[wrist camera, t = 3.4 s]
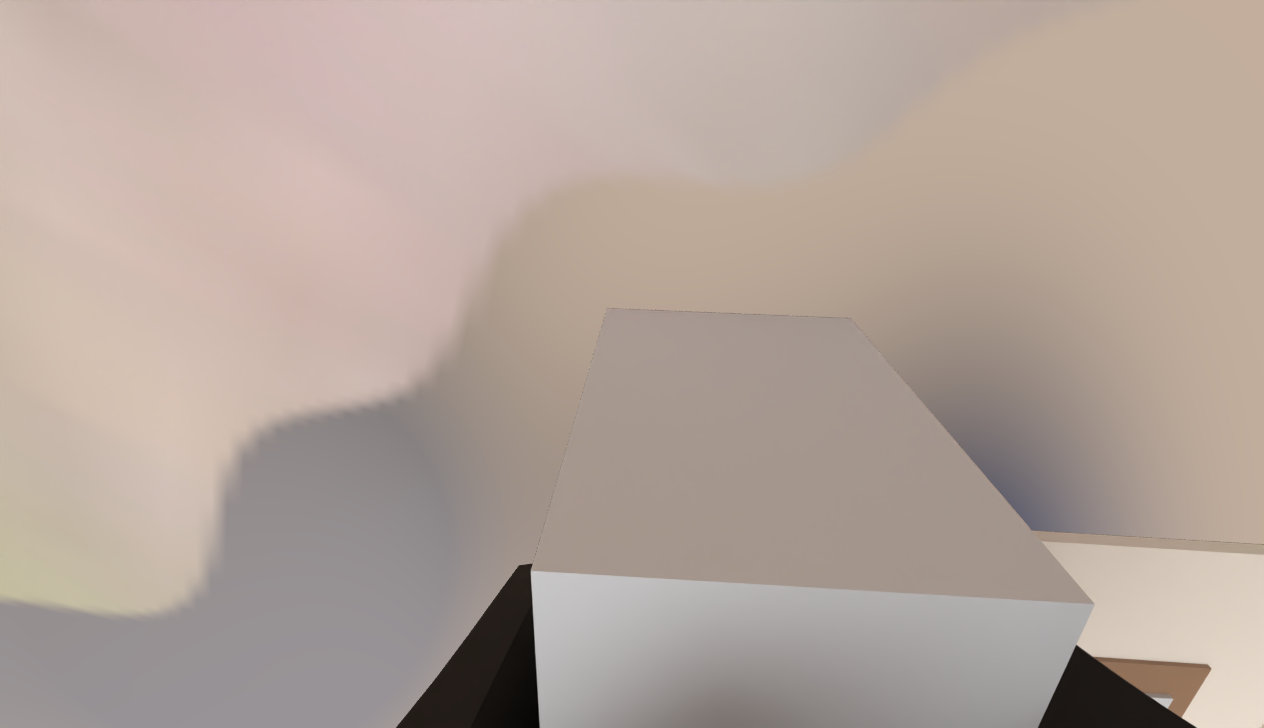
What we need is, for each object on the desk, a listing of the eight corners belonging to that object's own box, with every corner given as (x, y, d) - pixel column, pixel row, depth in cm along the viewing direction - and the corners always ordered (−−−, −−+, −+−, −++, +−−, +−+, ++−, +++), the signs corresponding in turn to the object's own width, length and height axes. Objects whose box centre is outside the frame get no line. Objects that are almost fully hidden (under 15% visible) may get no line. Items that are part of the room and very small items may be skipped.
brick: (850, 318, 10) (1096, 604, 4) (786, 663, 13) (874, 1078, 7) (606, 308, 10) (530, 570, 4) (604, 651, 13) (558, 1049, 8)
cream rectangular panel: (1359, 550, 11) (1390, 569, 10) (1180, 810, 14) (1198, 834, 14) (1028, 530, 11) (1042, 548, 11) (927, 791, 14) (935, 814, 14)
